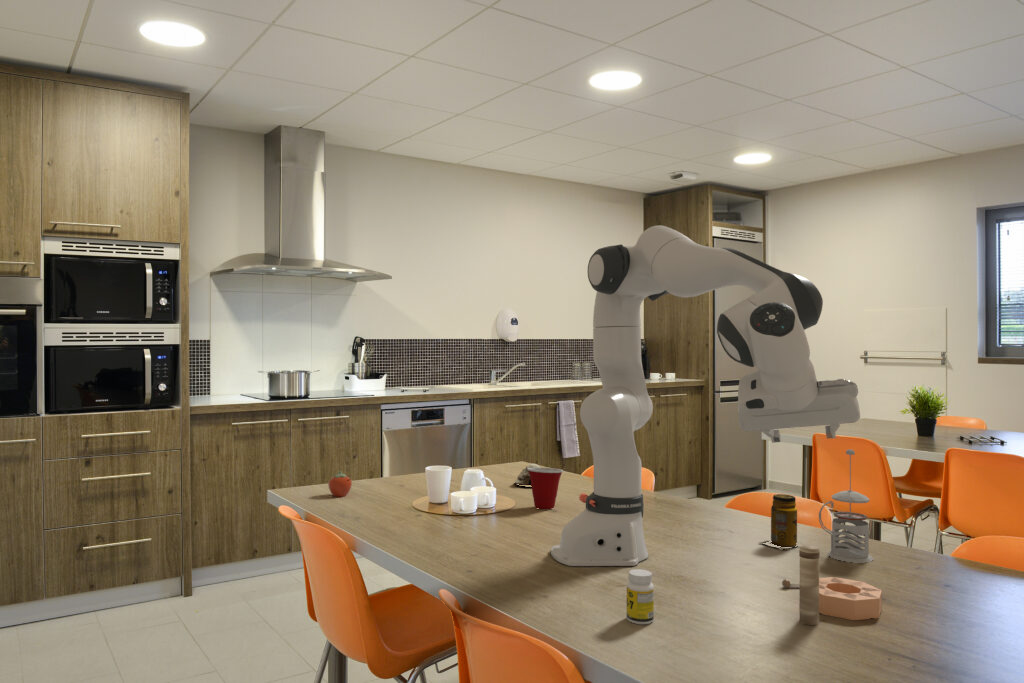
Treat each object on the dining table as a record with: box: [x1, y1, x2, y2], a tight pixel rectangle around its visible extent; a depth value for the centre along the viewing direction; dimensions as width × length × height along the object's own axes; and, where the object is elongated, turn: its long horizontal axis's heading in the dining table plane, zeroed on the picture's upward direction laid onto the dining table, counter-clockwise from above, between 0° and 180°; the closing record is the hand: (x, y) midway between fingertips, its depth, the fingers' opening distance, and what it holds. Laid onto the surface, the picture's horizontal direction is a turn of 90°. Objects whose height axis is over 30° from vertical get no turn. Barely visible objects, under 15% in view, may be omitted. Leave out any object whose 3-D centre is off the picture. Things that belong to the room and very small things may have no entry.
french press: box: [818, 448, 874, 564], centre depth 169 cm, size 10×12×25 cm
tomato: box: [328, 470, 353, 498], centre depth 233 cm, size 7×7×8 cm
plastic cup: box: [527, 466, 564, 510], centre depth 217 cm, size 11×11×12 cm
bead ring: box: [819, 576, 883, 621], centre depth 135 cm, size 12×12×4 cm
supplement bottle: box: [626, 568, 655, 625], centre depth 128 cm, size 5×5×8 cm
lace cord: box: [781, 578, 800, 589], centre depth 146 cm, size 18×2×2 cm, turn 88°
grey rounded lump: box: [513, 463, 541, 485], centre depth 253 cm, size 12×10×10 cm
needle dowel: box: [798, 544, 821, 626], centre depth 128 cm, size 3×3×13 cm
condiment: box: [757, 493, 798, 551], centre depth 178 cm, size 7×8×12 cm
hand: (803, 437), depth 133 cm, fingers open, 8 cm apart
